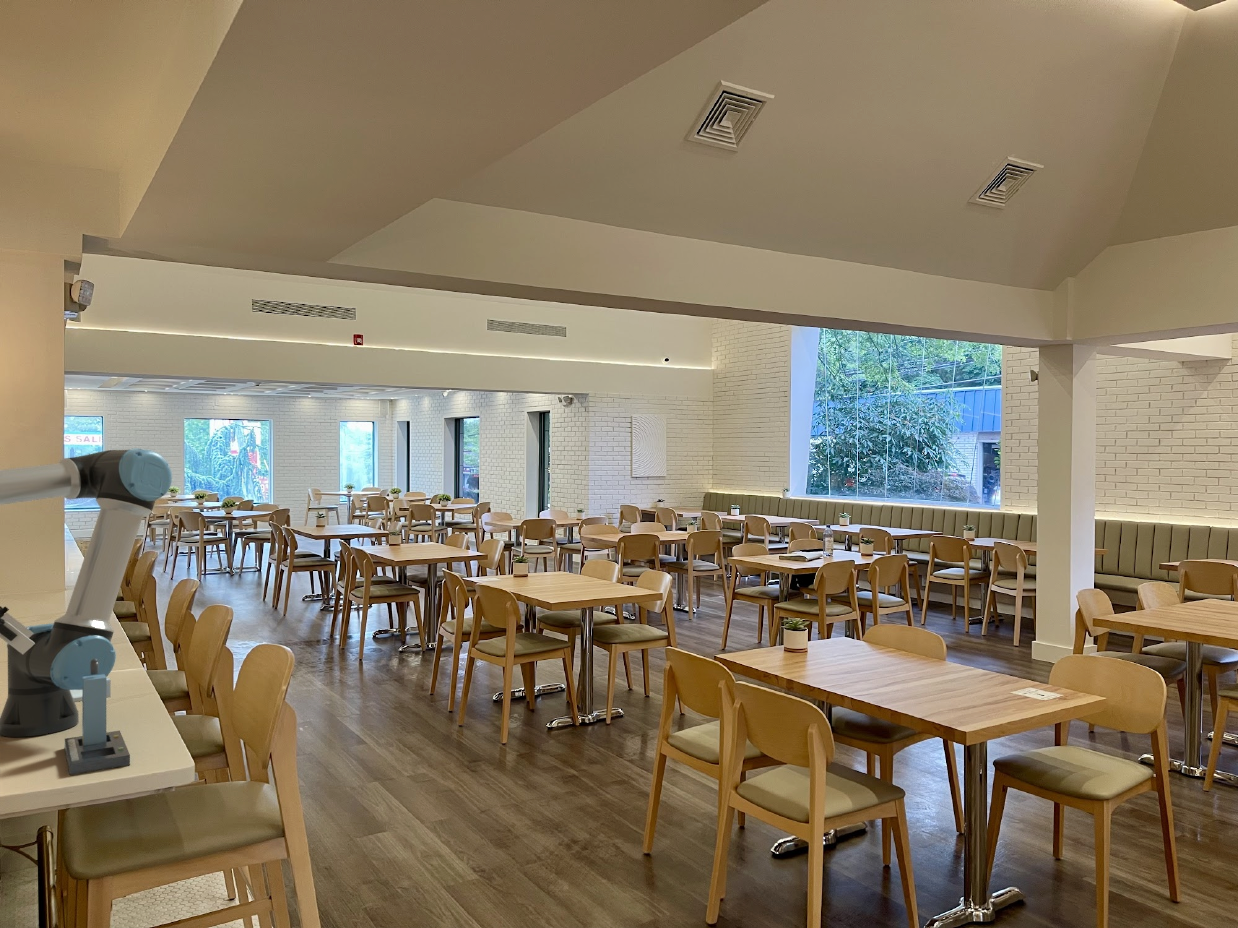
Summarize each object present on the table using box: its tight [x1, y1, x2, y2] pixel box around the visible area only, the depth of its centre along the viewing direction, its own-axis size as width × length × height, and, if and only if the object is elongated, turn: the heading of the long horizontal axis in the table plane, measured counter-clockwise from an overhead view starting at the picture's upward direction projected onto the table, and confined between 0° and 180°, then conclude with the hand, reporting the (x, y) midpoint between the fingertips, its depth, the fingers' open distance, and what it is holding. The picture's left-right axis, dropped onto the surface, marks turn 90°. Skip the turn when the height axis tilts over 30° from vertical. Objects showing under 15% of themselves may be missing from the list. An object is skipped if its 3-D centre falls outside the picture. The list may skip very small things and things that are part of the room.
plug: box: [81, 659, 112, 746], centre depth 183 cm, size 4×5×19 cm
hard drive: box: [70, 690, 82, 703], centre depth 228 cm, size 2×8×12 cm
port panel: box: [64, 730, 131, 776], centre depth 179 cm, size 20×10×2 cm, turn 34°
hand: (28, 643), depth 176 cm, fingers open, 13 cm apart
